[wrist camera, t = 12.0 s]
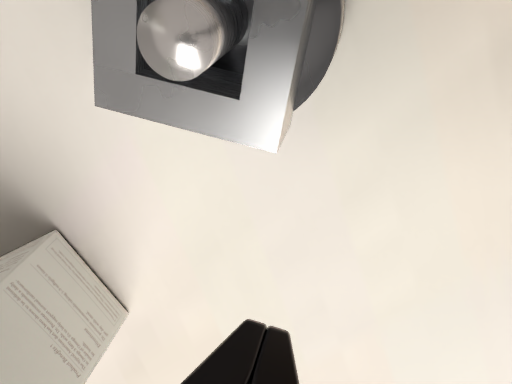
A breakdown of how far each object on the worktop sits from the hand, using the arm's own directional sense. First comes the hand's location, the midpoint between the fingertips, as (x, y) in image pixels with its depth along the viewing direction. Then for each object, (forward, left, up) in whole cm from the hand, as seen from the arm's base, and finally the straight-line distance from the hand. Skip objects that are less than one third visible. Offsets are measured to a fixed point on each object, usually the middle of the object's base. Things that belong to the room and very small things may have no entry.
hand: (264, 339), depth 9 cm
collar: (+5, -3, -11) cm, 12 cm away
